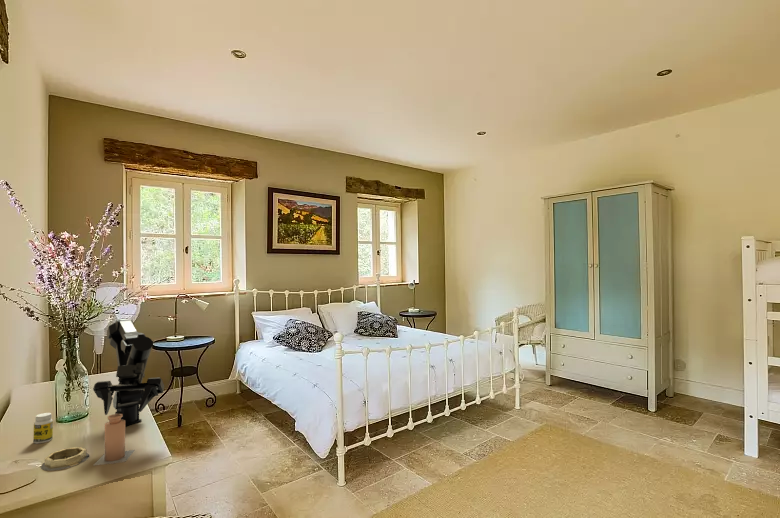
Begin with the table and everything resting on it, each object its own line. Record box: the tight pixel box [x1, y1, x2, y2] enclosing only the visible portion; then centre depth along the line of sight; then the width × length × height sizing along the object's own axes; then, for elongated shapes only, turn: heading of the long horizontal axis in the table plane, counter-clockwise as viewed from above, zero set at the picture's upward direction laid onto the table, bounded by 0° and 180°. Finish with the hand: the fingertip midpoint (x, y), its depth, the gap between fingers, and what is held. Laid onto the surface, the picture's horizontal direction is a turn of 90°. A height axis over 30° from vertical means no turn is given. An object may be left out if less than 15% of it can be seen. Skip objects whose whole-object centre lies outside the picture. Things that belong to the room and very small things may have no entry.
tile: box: [92, 449, 136, 466], centre depth 120 cm, size 8×8×1 cm
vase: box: [103, 413, 126, 461], centre depth 120 cm, size 5×5×12 cm
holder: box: [40, 446, 91, 472], centre depth 118 cm, size 11×11×3 cm
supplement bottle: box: [32, 412, 54, 445], centre depth 133 cm, size 5×5×8 cm
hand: (122, 412), depth 125 cm, fingers open, 9 cm apart
